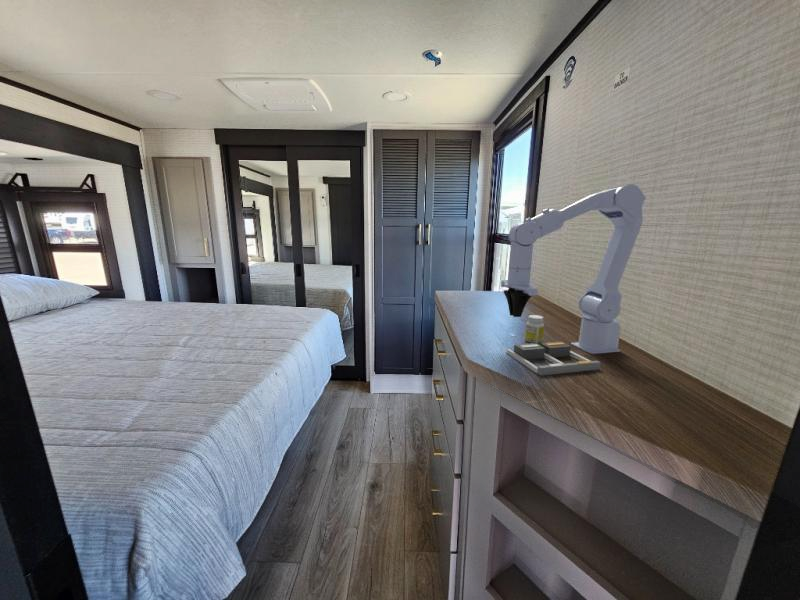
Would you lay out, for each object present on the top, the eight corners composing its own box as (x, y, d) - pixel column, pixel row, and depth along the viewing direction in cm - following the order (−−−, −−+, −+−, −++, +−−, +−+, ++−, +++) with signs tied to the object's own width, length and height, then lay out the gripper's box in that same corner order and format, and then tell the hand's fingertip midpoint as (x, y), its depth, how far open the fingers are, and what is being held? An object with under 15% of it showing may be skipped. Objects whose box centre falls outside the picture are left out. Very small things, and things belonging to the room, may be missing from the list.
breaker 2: (559, 350, 86) (560, 340, 85) (569, 356, 82) (571, 345, 81) (538, 352, 84) (540, 342, 84) (548, 357, 81) (549, 347, 80)
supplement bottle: (538, 341, 94) (541, 314, 92) (544, 346, 89) (547, 319, 88) (522, 340, 94) (525, 314, 93) (527, 346, 90) (530, 318, 88)
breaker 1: (534, 352, 84) (535, 342, 84) (544, 358, 80) (545, 347, 80) (513, 354, 83) (514, 344, 82) (522, 360, 79) (523, 349, 78)
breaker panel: (558, 349, 88) (559, 341, 87) (599, 369, 74) (600, 361, 74) (506, 353, 84) (507, 345, 84) (539, 376, 71) (540, 367, 70)
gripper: (493, 265, 90) (490, 310, 93) (522, 271, 76) (517, 323, 79) (514, 265, 92) (510, 309, 94) (547, 270, 78) (541, 322, 81)
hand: (515, 315), depth 87 cm, fingers closed
